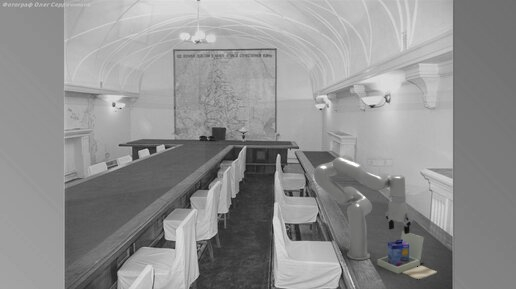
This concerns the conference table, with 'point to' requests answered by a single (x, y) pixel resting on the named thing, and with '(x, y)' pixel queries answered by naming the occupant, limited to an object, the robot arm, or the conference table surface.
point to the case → (414, 254)
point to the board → (419, 272)
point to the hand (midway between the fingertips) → (399, 231)
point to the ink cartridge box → (398, 253)
